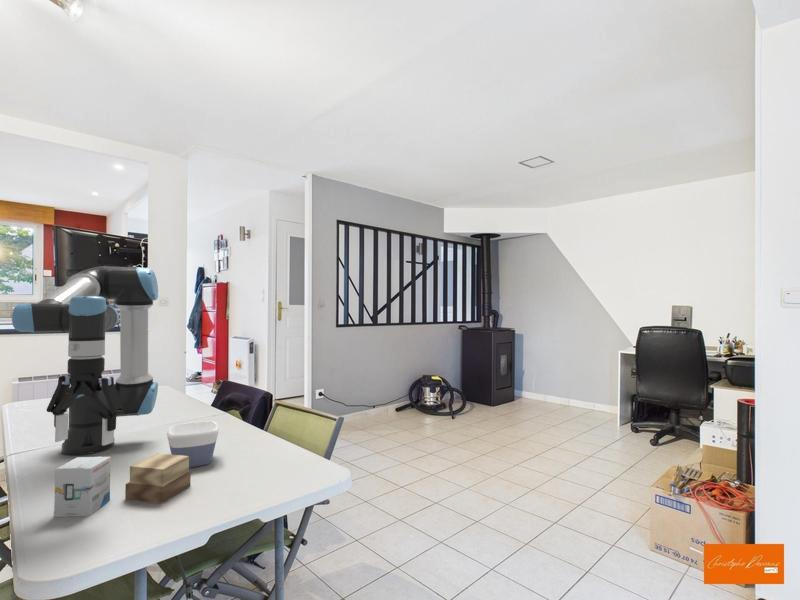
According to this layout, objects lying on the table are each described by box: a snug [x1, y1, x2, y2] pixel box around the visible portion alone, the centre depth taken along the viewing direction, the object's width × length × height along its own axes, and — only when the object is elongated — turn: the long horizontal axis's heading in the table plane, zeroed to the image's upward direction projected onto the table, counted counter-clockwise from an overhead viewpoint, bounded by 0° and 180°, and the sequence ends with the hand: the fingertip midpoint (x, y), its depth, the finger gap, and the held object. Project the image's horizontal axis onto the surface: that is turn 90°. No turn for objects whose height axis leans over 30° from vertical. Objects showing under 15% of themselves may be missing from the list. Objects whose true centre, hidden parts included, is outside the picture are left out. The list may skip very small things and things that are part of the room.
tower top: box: [129, 453, 190, 487], centre depth 116 cm, size 10×10×4 cm
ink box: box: [53, 456, 111, 518], centre depth 107 cm, size 9×8×12 cm
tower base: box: [124, 470, 192, 504], centre depth 116 cm, size 11×11×4 cm
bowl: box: [166, 420, 220, 469], centre depth 139 cm, size 15×15×11 cm
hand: (84, 442), depth 107 cm, fingers open, 13 cm apart
